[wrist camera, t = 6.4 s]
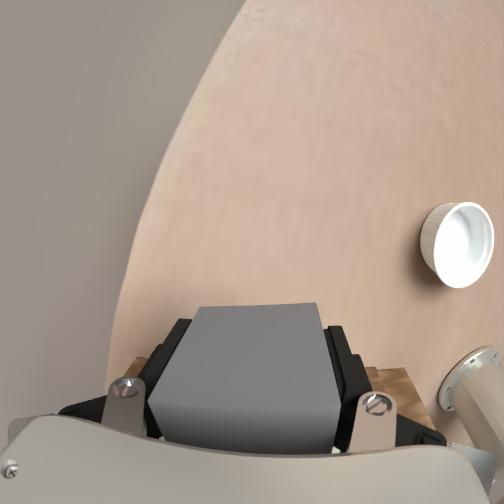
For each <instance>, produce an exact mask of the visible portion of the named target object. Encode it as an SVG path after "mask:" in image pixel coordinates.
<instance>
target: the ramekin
mask: <svg viewBox="0 0 504 504" xmlns="http://www.w3.org/2000/svg"><path fill="white" fill-rule="evenodd" d="M420 246H421V252H422V256H423V258H424V260H425V262H426V263H427V265H428V266H429V267H430V268H431V269H432V270H433V271H434V272H435V273H436V274H437V276H438V277H439V278H440V280H441V281H442V282H443V283H444V284H446V285H447V286H449V287H452V288H463V287H467V286H469V285H471V284H472V283H474V282H475V281H476V280H477V279H478V278H479V277H480V276H481V275H482V274H483V272H484V271H485V269H486V267H487V266H488V264H489V261H490V259H491V256H492V252H493V246H494V231H493V226H492V222H491V220H490V218H489V216H488V214H487V213H486V211H485V210H484V209H483V208H482V207H480V206H479V205H477V204H475V203H471V202H463V203H445V204H442V205H440V206H437V207H436V208H435V209H434V210H433V211H431V213H430V214H429V215H428V217H427V218H426V220H425V222H424V224H423V227H422V231H421V237H420Z"/></svg>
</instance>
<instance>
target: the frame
mask: <svg viewBox="0 0 504 504" xmlns="http://www.w3.org/2000/svg"><path fill="white" fill-rule="evenodd" d="M147 361H148V359H145V358H140V357H137V358H136V359H135V361H134V362H133V363H132V365H131V366H130V368H129V369H128V370H127V372H126V373H125V375H124V376H123V377H125V376H133V377H137V376H138V374H139V373H140V371H141V370H142V368H143V367H144V365H145V364H146V362H147ZM365 370H366V373H367V376H368V378H369V381H370V384H371V386H372V389H373V391H379V392H383V393H386V394H388V395H390V396H391V397H392V398H393V399H394V400H395V402H396V406H397V412H396V413H398V414H400V415H402V416H404V417H407V418H409V419H411V420H413V421H415V422H418V423H420V424H422V425H424V426H427V427H429V428H431V429H433V430H436V429H435V427H434V425H433V423H432V421H431V419H430V417H429V415H428V413H427V411H426V409H425V407H424V405H423V403H422V401H421V399H420V397H419V395H418V393H417V391H416V389H415V387H414V385H413V383H412V381H411V380H410V378H409V376H408V374H407V372H406V370H405V368H396V369H385V370H377V369H376V367H365Z"/></svg>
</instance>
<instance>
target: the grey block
mask: <svg viewBox="0 0 504 504" xmlns="http://www.w3.org/2000/svg"><path fill="white" fill-rule="evenodd" d="M148 403H149V406H150V408H151V411H152V413H153V415H154V417H155V420H156V422H157V424H158V426H159V428H160V431H161V433H162V435H163V437H164V439H165V441H168V442H173V443H178V444H183V445H189V446H194V447H201V448H207V449H215V450H222V451H232V452H242V453H255V454H278V455H312V454H332V449H333V445H334V440H335V435H336V430H337V425H338V420H339V414H340V408H341V402H340V398H339V393H338V389H337V384H336V380H335V376H334V371H333V367H332V363H331V359H330V355H329V351H328V347H327V343H326V339H325V335H324V331H323V327H322V323H321V320H320V316H319V312H318V308H317V305H316V303H300V304H281V305H256V306H218V307H200V308H199V309H198V311H197V313H196V315H195V317H194V318H193V320H192V322H191V324H190V325H189V327H188V329H187V331H186V332H185V334H184V336H183V338H182V339H181V341H180V343H179V345H178V347H177V348H176V350H175V352H174V354H173V356H172V357H171V359H170V361H169V363H168V364H167V366H166V368H165V370H164V372H163V373H162V375H161V377H160V379H159V381H158V383H157V384H156V386H155V388H154V390H153V392H152V393H151V395H150V397H149V399H148Z"/></svg>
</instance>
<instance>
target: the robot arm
mask: <svg viewBox="0 0 504 504" xmlns="http://www.w3.org/2000/svg"><path fill="white" fill-rule="evenodd" d="M191 322H192V319H181V318H179V319H178V321H177V322H176V324H175V325H174V327H173V328H172V330H171V332H170V333H169V335H168V336H167V338H166V339H165V341H164V342H163V344H159V345H158V346H157V347H156V348H155V350H154V351H153V353H152V354H151V356H150V358H149V359H148V361H147V362H146V364H145V365H144V367H143V368H142V370H141V371H140V373H139V374H138V376H137V377H133V376H125V377H121V378H118V379H116V380H115V381H113V382H112V383H111V385H110V387H109V391H108V395H105V396H102V397H99V398H95V399H92V400H88V401H85V402H81V403H77V404H74V405H70V406H67V407H65V408H63V409H62V410H60V412H59V413H58V415H55V414H54V413H52V414H46V415H40V416H33V417H26V418H19V419H16V420H14V421H12V422H11V423H10V425H9V427H8V444H7V445H6V446H5V448H4V449H3V450H2V451H1V453H0V504H490V503H489V500H488V495H489V492H490V488H491V485H492V481H493V479H495V480H499V481H504V370H503V369H502V367H501V366H500V365H501V356H500V354H499V352H498V351H497V350H496V349H495V348H493V347H483V348H480V349H478V350H476V351H474V352H472V353H471V354H469V355H468V356H467V357H465V358H464V359H463V360H462V361H461V362H460V363H458V365H457V366H456V367H455V368H454V369H453V370H452V371H451V372H450V374H449V375H448V376H447V378H446V379H445V381H444V383H443V385H442V387H441V389H440V392H439V403H440V405H441V407H442V408H443V409H444V410H446V411H456V413H457V415H458V417H459V418H460V420H461V422H462V424H463V426H464V427H465V429H466V431H467V433H468V435H469V437H470V439H471V440H472V442H473V444H474V446H475V448H472V447H469V446H466V445H462V444H459V443H456V442H453V441H452V442H451V443H450V444H449V443H447V441H446V439H445V437H444V436H443V435H442V434H441V433H439V432H438V431H436V430H433V429H431V428H429V427H427V426H424V425H422V424H420V423H418V422H415V421H413V420H411V419H409V418H407V417H404V416H402V415H400V414H398V413H396V412H397V406H396V402H395V400H394V399H393V398H392V397H391V396H390V395H388V394H386V393H383V392H379V391H373V389H372V386H371V384H370V381H369V378H368V376H367V373H366V370H365V368H364V365H363V362H362V360H361V357H360V355H359V354H352V353H351V350H350V348H349V345H348V342H347V339H346V337H345V334H344V331H343V328H342V326H328V329H324V330H323V331H324V335H325V339H326V343H327V347H328V351H329V355H330V359H331V363H332V367H333V371H334V376H335V380H336V384H337V389H338V393H339V398H340V402H341V408H340V414H339V420H338V425H337V430H336V435H335V440H334V445H333V447H335V448H337V449H338V450H340V451H339V453H333V454H312V455H278V454H255V453H242V452H232V451H222V450H215V449H207V448H201V447H194V446H189V445H183V444H178V443H173V442H168V441H163V440H162V436H163V435H162V433H161V431H160V428H159V426H158V424H157V422H156V420H155V417H154V415H153V413H152V411H151V408H150V406H149V403H148V399H149V397H150V395H151V393H152V392H153V390H154V388H155V386H156V384H157V383H158V381H159V379H160V377H161V375H162V373H163V372H164V370H165V368H166V366H167V364H168V363H169V361H170V359H171V357H172V356H173V354H174V352H175V350H176V348H177V347H178V345H179V343H180V341H181V339H182V338H183V336H184V334H185V332H186V331H187V329H188V327H189V325H190V324H191ZM495 504H504V497H503V498H501V499H500V500H499V501H497V502H496V503H495Z"/></svg>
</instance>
